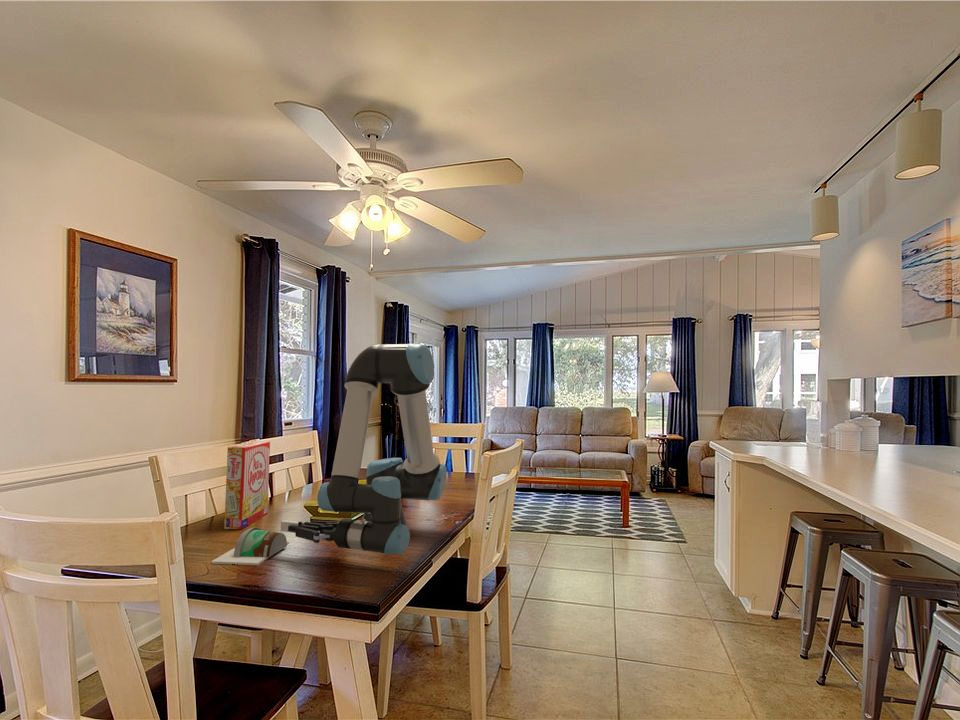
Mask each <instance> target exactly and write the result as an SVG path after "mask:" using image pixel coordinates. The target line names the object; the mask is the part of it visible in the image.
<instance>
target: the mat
mask: <svg viewBox="0 0 960 720" xmlns="http://www.w3.org/2000/svg"><path fill="white" fill-rule="evenodd" d="M289 544H290V542H289V541H287V546H288V545H289ZM234 550H235V547H233V548H232V549H230V550H228V551H226V552H225V553H224V554H221V555H220V556H218V557H216V558H214V559H213V560H211V561H210V564H211V563H212V564H213V565H232V564H235V565H237V564H238V565H239V566H259V565H261V564H262V563H263V562H265V561H267V560H268V559H269V558H271V557H272V556H270V557H244V556H240V557H235V556H234ZM212 564H211V565H212ZM238 565H237V566H238Z"/></svg>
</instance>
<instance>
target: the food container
mask: <svg viewBox="0 0 960 720" xmlns="http://www.w3.org/2000/svg"><path fill="white" fill-rule="evenodd" d="M287 542H288V540H287V537H286V535H285V534H284V532H283V533H282V532H276V531H268V530H262V529H261V528H259V527H252V528H251V527H250V528H247V529H246V530H244V531H243V532H242V533H241V534H240V535H239V537H238V539H237V540H236V544H235V546H234V548H235V550H234V556H235V557H240V556H244V557H269V558H271V557H272V556H274V555H275V554H277V553H278V552H280V551H281V550H283V549H285V548H286V547H287V546H288V545H287ZM270 556H271V557H270Z"/></svg>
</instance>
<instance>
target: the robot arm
mask: <svg viewBox="0 0 960 720" xmlns="http://www.w3.org/2000/svg"><path fill="white" fill-rule="evenodd" d="M434 379H435V363H434V358H433V355H432V352H431V351H430V349H429V348H428V347H427V346H426V345H424V344H417V343H411V342H410V343H398V344H397V343H395V344H394V343H393V344H392V343H391V344H389V343H384V344H383V343H378V344H377V343H376V344H372V345H370V346H368V347H366V348H365V349H363V350H362V351H361V352H360V353H359V354H357V356H356V357H355V359H354V360H353V362H352V363H351V365H350V367H349V369H348V371H347V373H346V376H345V380H344V388H345V389H346V395H345V401H344V404H343V411H342V416H341V422H340V425H339V432H338V438H337V443H336V450H335V454H334V459H333V464H332V471H331V476H330V481H327V482H326V481H325V482H323V483H322V484H321V485H320V487H319V489H318V490H317V498H316V501H317V505H318V508H319V509H321V510H322V511H324V512H333V513H353V514H355V513H356V514H363V515H362V518H361V519H354V518H353V519H351V518H342V519H340V520H337V521H336V520H310V522H309V521H305V522H304V521H303V522H302V521H296V520H295V521H294V520H287V519H283V520H281V521H280V532H283V533H284V532H285V533H295V535H294V536H295V537H296V538H301V539H304V540H308V541H311V542H312V543H313V542H314V543H315V544H319V543H320V541H321V540H325V541H326V542H332V541H333V542H334V543H335V546H337V547H338V548H340V549H348V550H349V549H350V550H353V551H360V552H361V551H363V552H373V553H378V554H385V555H393V556H394V555H395V556H396V555H399V556H400V555H402V554H404V553H405V552H406V551H407V549H408V547H409V545H410V541H411V540H410V539H411V533H410V529H409V527H408V526H407V520H406V516H405V512H404V509H403V505H402V500H415V501H417V500H418V501H427V502H428V501H439V500H440V499H441V497H443V493H444V492H445V491H444V490H445V488H446V482H447V481H446V480H447V466H446V464H444V463H440V459H439V456H438V455H436V454H435V453H434V446H433V438H432V437H433V436H432V431H431V423H430V416H429V407H428V401H427V390H428V389H429V388H430V386H431V385H430V384H431V383H432V382H433V380H434ZM380 384H389V385H390V390H391V393H393V394H395V395H396V396H397V402H398V409H399V415H400V420H401V421H400V422H401V428H402V433H403V440H404V448H405V453H406V459H405V460H404V461H403V459H402V457H391V458H390V457H388V458H383V459H377V460H373V461H370V462H369V463H368V464H367V466H366V475H365V480H366V482H365V483H359V481H360V472H361V468H362V462H363V456H364V450H365V445H366V439H367V438H366V437H367V433H368V427H369V422H370V415H371V411H372V409H371V408H372V404H373V398H374V394H375V393H377V392H378V389H379V385H380Z"/></svg>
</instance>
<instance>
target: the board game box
mask: <svg viewBox="0 0 960 720" xmlns="http://www.w3.org/2000/svg"><path fill="white" fill-rule="evenodd" d="M270 449H271V441H270V440H269V441H268V440H254V441H250V442H246V443H243V444H238V445H233V446H227V456H226V475H225V476H226V479H225V500H224V501H225V502H224V521H223V522H224V523H223V524H224V525H223V526H224V527H223V530H242V529H244V528H246V527H247V525H248V526H249V525H251V524H253V523H255V522H256V521H258V520H259V519H261V518H263V517H264V516H267V515H268V514H269V508H268V507H269V487H270V486H269V482H270V481H269V480H270V453H271V451H270ZM254 521H255V522H254Z"/></svg>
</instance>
